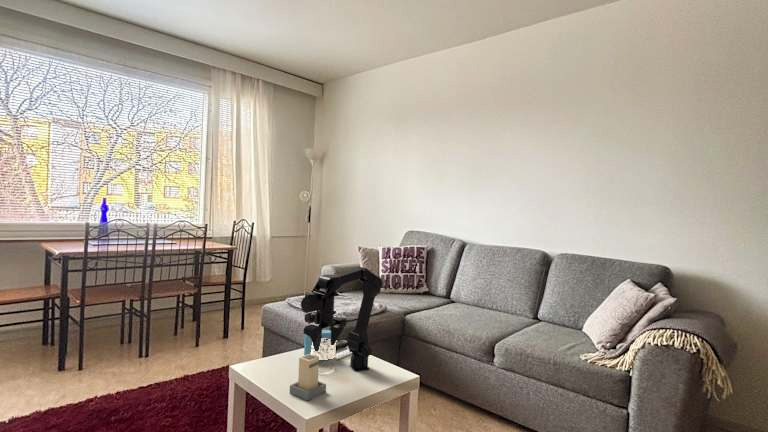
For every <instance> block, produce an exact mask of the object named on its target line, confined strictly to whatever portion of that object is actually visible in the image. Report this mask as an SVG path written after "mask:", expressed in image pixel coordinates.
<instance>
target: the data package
mask: <svg viewBox="0 0 768 432" xmlns="http://www.w3.org/2000/svg"><path fill="white" fill-rule="evenodd" d="M321 335H322V338H329V339H331V330H330V329H324V330H322V333H321ZM311 345H312V340H311V338H310V337H309V336H307V335H306V334H304V346H303V348H304V349H303V356H305V355H308V354H310V349H311Z"/></svg>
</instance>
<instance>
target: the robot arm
mask: <svg viewBox="0 0 768 432" xmlns="http://www.w3.org/2000/svg"><path fill="white" fill-rule="evenodd" d="M354 281H360V283H361V291H362V299H361V304H360V308H359V311H358V316H357V320H356V324H355V326H354V327H355V328H354V329H353V330H352V331H349V332H348V334H347V335H348V336H347V338H346V342H347V343H346V346H347V347H348V351H349V352H350V353H351V356H350V363H349V367H350V368H352V370H353V371H354V372H359V371H367V370H369V369H370V367H369V365H368V364H369V357H370V356H371V355H372V353H373V349H372V348H371V347H370V346H369V335H368V333H367V331H368V327H369V323H370V318H371V314H372V311H373V306H374V301H375V298H376V297H377V296H378V295H379V294H380V292H381V290H382V287H383V283H384V282H383V279H382V278H381V277H380V276H378V275H376V274H374V273H373V272H371V271H370V270H369V269H368V268H367V267H363V266H357V267H356V268H355V267H354V268H353V269H350V270H346V271H343V272H341V273H336V274H322V275H320V276H319V277H318V280H317V282H316V284H315V285H314V286H313V289H312V290H311V292H310V293H305V294H304V297H303V298H302V300H301V301H300V306H301V307H300V308H301V310H302V312H304V313H305V314H304V323H308V325H305V326H304V327H303V334H304V335H305V334H306V335H307V336H309V337H310V338H311V340H312V342H313V346H314V349H315V351H318V350H319V346H320V342H321V338H322V335H321V333H322V330H328V329H329V330H330V331H331V345H333V346H334V345H335V344H336V342H337V340H338V338H339V336H340V335H341V333H342V332H343V330H344V329H345V327H347V320H346V318H343V317H338V316H334V315H336V314H337V311H336V310H335V297H338V296H340V294H339V293H338V292H337V291H338V290H339V289H340V288H341V287H342V286H343V285H345V284H348V283H351V282H354ZM312 312H315V313H314V314H312ZM314 324H315V325H314Z"/></svg>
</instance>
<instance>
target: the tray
mask: <svg viewBox="0 0 768 432" xmlns="http://www.w3.org/2000/svg"><path fill="white" fill-rule="evenodd" d="M326 392H327V384H326V383H324V382H321V381H319V380H318V387H317V388H315V389H313V390H311V391H309V392H308V391H305V390H303V389H300V388H298V381H297V382H295V383H292V384H290V385H289V394H290V395H292V396H294V397H298V398H299V399H302V400H304V401H306V402H310V401H311V400H314V399H316V398H317V397H319V396H322V395H323V394H325V393H326Z"/></svg>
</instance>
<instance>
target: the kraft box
mask: <svg viewBox="0 0 768 432" xmlns="http://www.w3.org/2000/svg"><path fill="white" fill-rule="evenodd" d="M298 362H299V363H298V381H297V382H298V388H300V389H303V390H305V391H308V392H309V391H311V390H313V389H315V388H317V387H318V381H319V367H320V360H319V357H317V356H314V355H311V354H308V355H305V356H304V355H302V356H300V357H299V359H298Z"/></svg>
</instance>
